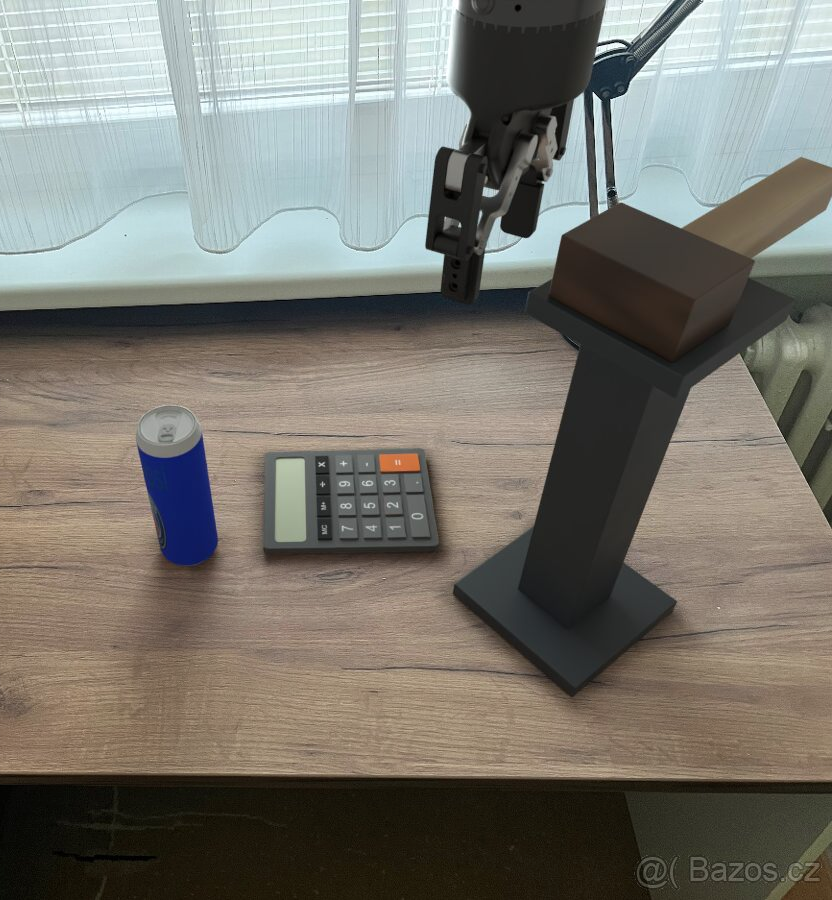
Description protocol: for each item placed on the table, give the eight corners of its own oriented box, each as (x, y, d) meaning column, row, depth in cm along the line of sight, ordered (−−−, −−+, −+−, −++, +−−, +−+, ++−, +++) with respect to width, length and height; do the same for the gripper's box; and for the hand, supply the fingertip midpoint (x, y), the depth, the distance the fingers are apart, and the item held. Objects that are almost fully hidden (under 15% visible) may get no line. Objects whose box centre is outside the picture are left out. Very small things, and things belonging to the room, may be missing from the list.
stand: (672, 612, 69) (824, 299, 48) (571, 698, 65) (689, 396, 43) (550, 522, 76) (635, 215, 55) (452, 594, 72) (502, 291, 51)
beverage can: (163, 525, 80) (137, 403, 69) (219, 523, 79) (202, 400, 68) (158, 570, 76) (129, 449, 65) (217, 569, 75) (198, 447, 65)
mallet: (871, 227, 52) (902, 164, 49) (672, 363, 45) (695, 299, 42) (745, 179, 57) (766, 120, 54) (548, 296, 50) (560, 234, 47)
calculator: (439, 544, 74) (262, 547, 75) (438, 551, 75) (263, 553, 76) (424, 446, 82) (265, 450, 84) (423, 453, 83) (265, 457, 84)
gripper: (544, 56, 39) (496, 343, 50) (652, -42, 46) (589, 227, 58) (394, 31, 42) (381, 304, 54) (517, -57, 50) (483, 199, 61)
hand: (489, 264), depth 56 cm, fingers open, 8 cm apart
